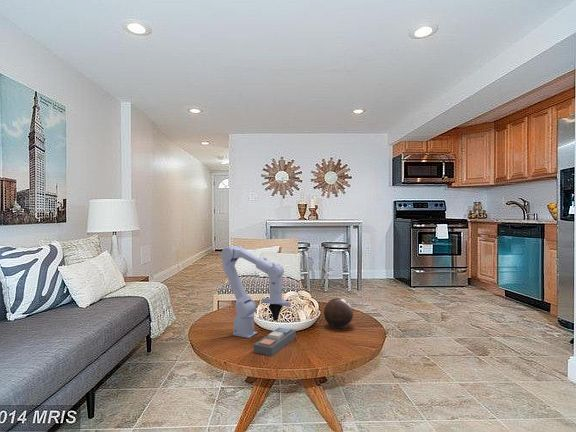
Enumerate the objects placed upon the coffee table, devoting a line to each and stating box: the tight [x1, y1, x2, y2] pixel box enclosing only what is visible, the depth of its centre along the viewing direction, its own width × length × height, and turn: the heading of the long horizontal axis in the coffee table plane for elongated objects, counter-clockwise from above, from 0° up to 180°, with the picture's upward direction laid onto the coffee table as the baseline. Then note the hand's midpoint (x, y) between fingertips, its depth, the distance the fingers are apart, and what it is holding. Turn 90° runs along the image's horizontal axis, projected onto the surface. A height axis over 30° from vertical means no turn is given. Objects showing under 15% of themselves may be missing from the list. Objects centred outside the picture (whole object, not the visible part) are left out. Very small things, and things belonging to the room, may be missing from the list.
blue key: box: [277, 327, 292, 334], centre depth 164 cm, size 5×5×2 cm
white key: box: [267, 330, 283, 340], centre depth 156 cm, size 5×5×2 cm
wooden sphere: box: [323, 297, 354, 329], centre depth 180 cm, size 15×15×15 cm
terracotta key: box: [259, 339, 275, 346], centre depth 149 cm, size 5×5×2 cm
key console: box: [253, 327, 297, 357], centre depth 156 cm, size 9×24×4 cm, turn 154°
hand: (275, 319), depth 163 cm, fingers closed
